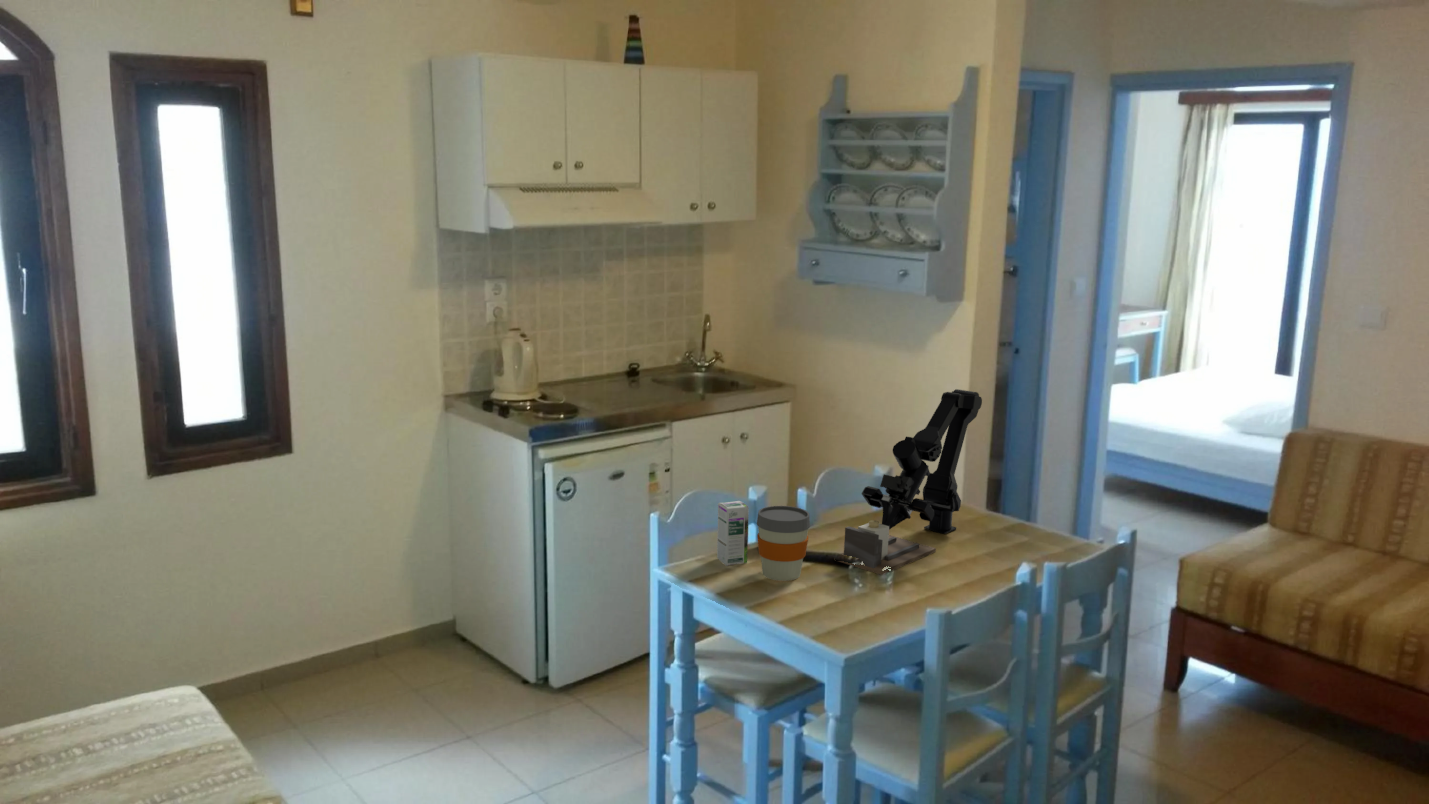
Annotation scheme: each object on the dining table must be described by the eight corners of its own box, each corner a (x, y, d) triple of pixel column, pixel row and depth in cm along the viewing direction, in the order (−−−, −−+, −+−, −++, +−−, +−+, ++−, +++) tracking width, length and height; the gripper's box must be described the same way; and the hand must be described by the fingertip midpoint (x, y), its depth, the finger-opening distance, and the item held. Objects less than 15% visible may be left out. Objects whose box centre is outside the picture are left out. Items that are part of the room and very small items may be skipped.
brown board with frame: (889, 538, 286) (891, 505, 284) (935, 551, 276) (938, 518, 275) (834, 560, 268) (836, 525, 267) (881, 575, 259) (884, 538, 257)
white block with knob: (870, 552, 272) (872, 516, 270) (887, 557, 268) (889, 521, 266) (856, 557, 267) (858, 522, 265) (873, 563, 264) (875, 526, 262)
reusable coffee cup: (747, 578, 254) (749, 517, 251) (764, 561, 266) (766, 502, 263) (799, 586, 250) (802, 524, 247) (813, 569, 262) (816, 509, 259)
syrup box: (726, 566, 262) (727, 508, 259) (716, 558, 267) (717, 501, 265) (747, 563, 264) (749, 506, 261) (737, 555, 270) (739, 499, 267)
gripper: (867, 455, 276) (839, 505, 270) (931, 469, 264) (903, 523, 258) (883, 479, 283) (856, 529, 278) (946, 494, 271) (919, 547, 265)
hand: (882, 531), depth 270 cm, fingers closed
